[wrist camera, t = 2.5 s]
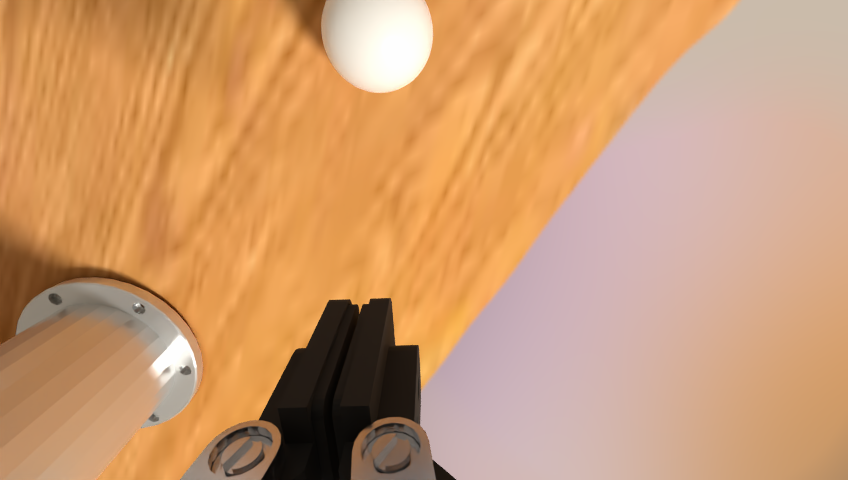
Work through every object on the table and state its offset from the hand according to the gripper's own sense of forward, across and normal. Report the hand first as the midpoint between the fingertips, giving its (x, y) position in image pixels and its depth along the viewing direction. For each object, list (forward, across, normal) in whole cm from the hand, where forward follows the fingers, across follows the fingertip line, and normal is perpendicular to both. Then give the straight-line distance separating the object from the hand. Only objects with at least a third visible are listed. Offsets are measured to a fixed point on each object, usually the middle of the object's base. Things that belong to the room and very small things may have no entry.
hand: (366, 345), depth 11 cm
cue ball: (+13, 0, -9) cm, 16 cm away
